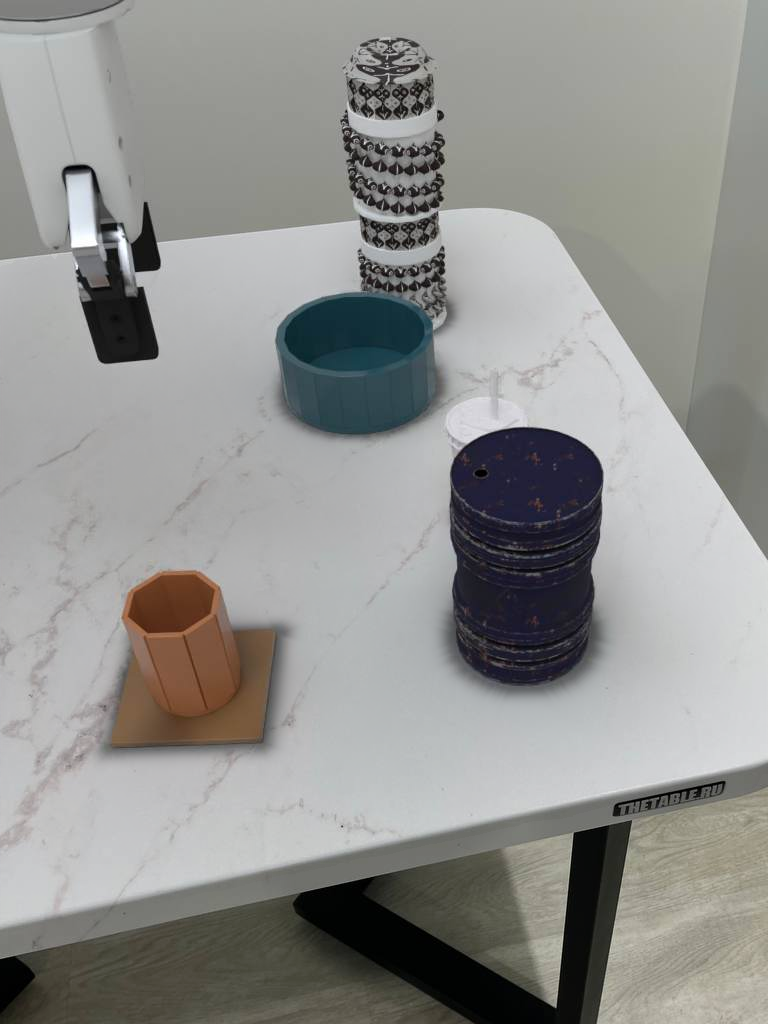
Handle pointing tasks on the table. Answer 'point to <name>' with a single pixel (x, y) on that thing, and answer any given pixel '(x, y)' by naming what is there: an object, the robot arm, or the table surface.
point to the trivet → (229, 724)
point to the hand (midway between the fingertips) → (132, 312)
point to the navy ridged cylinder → (524, 552)
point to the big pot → (357, 362)
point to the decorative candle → (396, 171)
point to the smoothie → (482, 417)
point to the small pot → (183, 642)
